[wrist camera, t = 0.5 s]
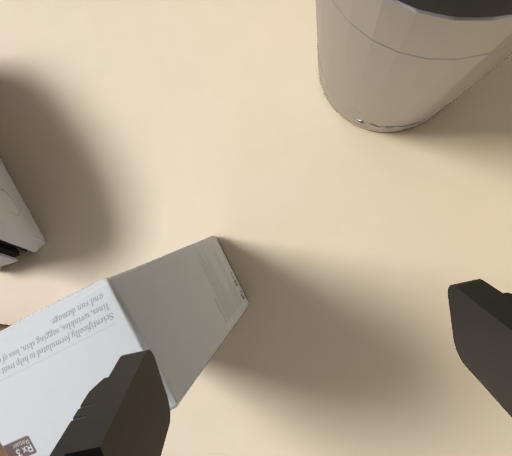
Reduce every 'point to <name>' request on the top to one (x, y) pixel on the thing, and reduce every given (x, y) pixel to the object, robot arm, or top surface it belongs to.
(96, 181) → the top surface
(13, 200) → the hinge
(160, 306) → the skincare box
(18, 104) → the top surface
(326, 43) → the robot arm
